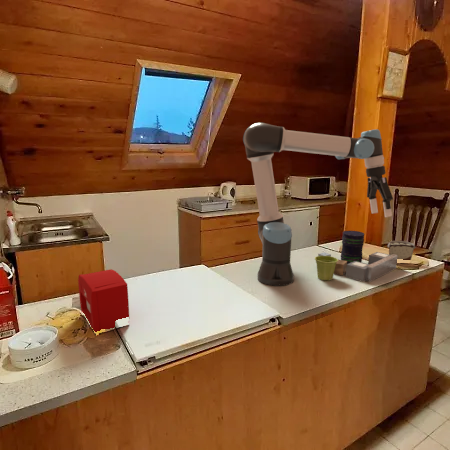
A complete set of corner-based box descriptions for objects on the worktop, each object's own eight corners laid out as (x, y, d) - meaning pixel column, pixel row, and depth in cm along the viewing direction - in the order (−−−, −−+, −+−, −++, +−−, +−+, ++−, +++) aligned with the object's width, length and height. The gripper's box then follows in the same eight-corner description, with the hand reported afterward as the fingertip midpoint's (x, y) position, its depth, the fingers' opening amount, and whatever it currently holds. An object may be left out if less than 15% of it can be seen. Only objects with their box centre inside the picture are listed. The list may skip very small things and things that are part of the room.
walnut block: (331, 273, 153) (331, 262, 152) (335, 269, 158) (335, 259, 156) (342, 275, 150) (343, 264, 149) (346, 271, 155) (347, 261, 154)
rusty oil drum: (343, 258, 173) (346, 229, 170) (364, 262, 167) (366, 232, 164) (337, 263, 165) (339, 233, 162) (358, 267, 160) (361, 236, 156)
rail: (365, 280, 144) (367, 265, 143) (391, 267, 160) (393, 254, 159) (370, 281, 143) (371, 267, 141) (396, 268, 159) (397, 255, 157)
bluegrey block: (317, 265, 162) (318, 253, 161) (323, 264, 164) (324, 252, 163) (323, 268, 159) (324, 255, 158) (330, 266, 161) (330, 254, 160)
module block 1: (345, 276, 149) (346, 263, 147) (353, 272, 153) (354, 260, 152) (363, 281, 143) (364, 268, 142) (371, 277, 147) (372, 264, 146)
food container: (407, 260, 171) (410, 240, 168) (413, 264, 165) (415, 244, 162) (382, 259, 172) (384, 240, 170) (386, 263, 166) (388, 243, 164)
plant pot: (309, 277, 148) (310, 258, 146) (322, 272, 153) (324, 254, 151) (327, 284, 140) (328, 263, 138) (340, 279, 146) (342, 259, 144)
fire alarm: (81, 315, 114) (76, 272, 110) (113, 307, 120) (110, 266, 116) (94, 337, 101) (90, 289, 97) (130, 326, 107) (127, 281, 103)
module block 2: (367, 266, 162) (369, 254, 160) (375, 262, 167) (377, 251, 165) (384, 270, 156) (386, 258, 154) (392, 266, 161) (393, 255, 160)
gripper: (397, 164, 135) (404, 216, 138) (371, 165, 160) (377, 210, 163) (378, 167, 135) (385, 220, 138) (355, 168, 160) (361, 213, 163)
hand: (381, 214), depth 151 cm, fingers open, 13 cm apart
